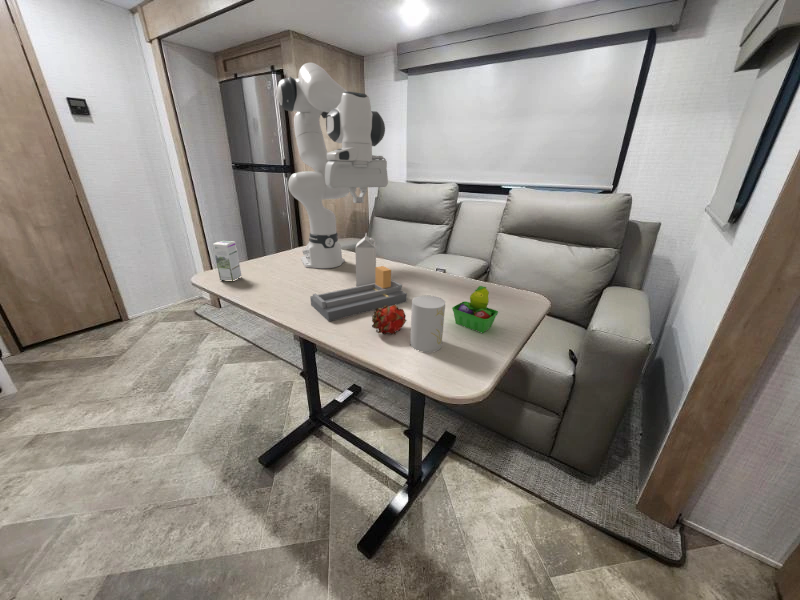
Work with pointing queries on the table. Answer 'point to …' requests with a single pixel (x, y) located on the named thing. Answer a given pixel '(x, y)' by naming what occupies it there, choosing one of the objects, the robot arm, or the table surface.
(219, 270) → the syrup box
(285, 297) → the table surface
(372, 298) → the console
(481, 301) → the fruit basket
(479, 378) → the table surface
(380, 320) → the dragon fruit
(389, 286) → the fader
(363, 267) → the milk carton
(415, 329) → the cup
